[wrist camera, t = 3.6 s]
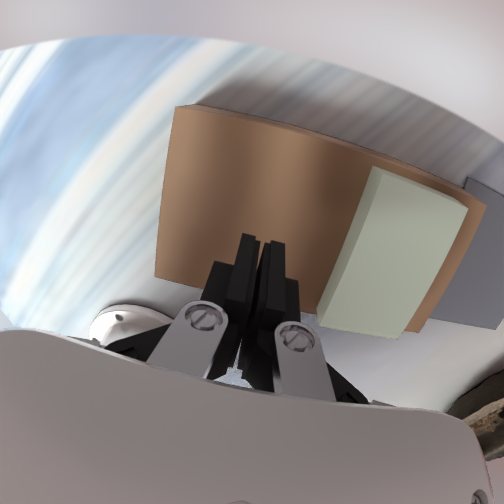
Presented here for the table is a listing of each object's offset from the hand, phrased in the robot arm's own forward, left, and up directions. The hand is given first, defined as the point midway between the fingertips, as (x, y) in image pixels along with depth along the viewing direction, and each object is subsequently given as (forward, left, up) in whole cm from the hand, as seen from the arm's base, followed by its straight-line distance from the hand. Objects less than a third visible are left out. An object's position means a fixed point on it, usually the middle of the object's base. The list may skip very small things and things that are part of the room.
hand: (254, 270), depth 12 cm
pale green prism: (-4, -7, -6) cm, 10 cm away
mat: (-10, -19, -10) cm, 24 cm away
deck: (-2, -3, -10) cm, 11 cm away
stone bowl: (-37, -27, -11) cm, 47 cm away
